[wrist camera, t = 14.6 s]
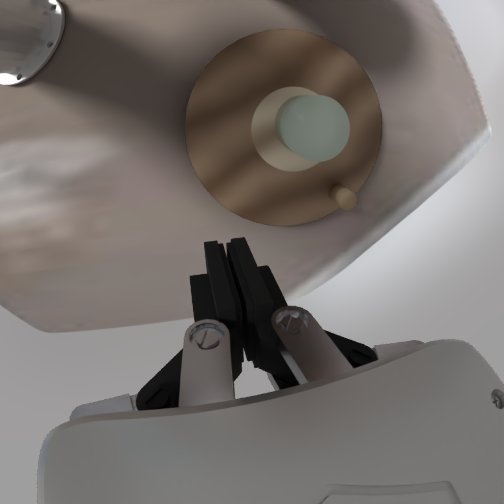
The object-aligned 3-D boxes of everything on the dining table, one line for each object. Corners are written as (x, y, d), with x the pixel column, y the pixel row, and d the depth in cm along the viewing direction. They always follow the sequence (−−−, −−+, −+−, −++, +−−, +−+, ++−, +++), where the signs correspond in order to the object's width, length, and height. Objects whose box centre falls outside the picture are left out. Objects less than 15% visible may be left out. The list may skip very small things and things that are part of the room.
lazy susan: (140, 119, 26) (132, 122, 22) (308, 1, 22) (325, -9, 18) (270, 254, 38) (279, 273, 35) (399, 151, 34) (420, 160, 30)
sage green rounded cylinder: (262, 114, 27) (272, 117, 24) (314, 84, 26) (330, 83, 23) (295, 165, 31) (308, 174, 28) (342, 134, 30) (359, 140, 27)
